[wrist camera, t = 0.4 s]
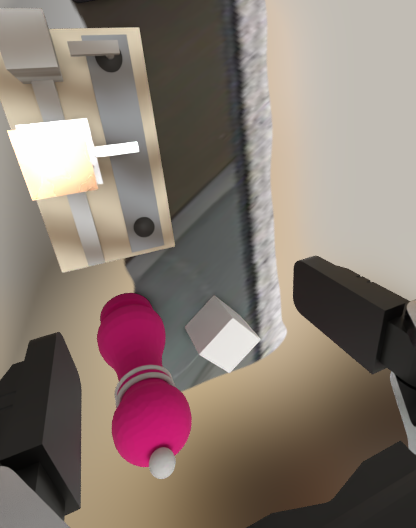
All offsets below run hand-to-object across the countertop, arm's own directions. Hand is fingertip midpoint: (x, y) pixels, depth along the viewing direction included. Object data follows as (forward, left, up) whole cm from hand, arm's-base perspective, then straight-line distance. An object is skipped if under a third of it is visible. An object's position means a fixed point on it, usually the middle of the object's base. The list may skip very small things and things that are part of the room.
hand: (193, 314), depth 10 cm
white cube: (+20, +9, -25) cm, 33 cm away
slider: (-4, -2, -21) cm, 22 cm away
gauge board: (-3, -1, -24) cm, 25 cm away
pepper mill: (+15, -2, -25) cm, 29 cm away
